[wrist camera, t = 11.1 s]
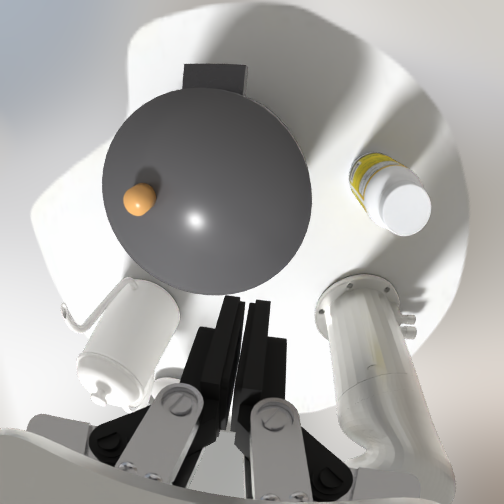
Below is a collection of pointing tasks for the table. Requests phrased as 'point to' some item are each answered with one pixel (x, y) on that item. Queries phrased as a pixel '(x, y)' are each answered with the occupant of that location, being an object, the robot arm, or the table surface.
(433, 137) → the table surface
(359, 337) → the robot arm
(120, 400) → the coffeepot
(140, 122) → the cooker lid
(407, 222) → the pill bottle
